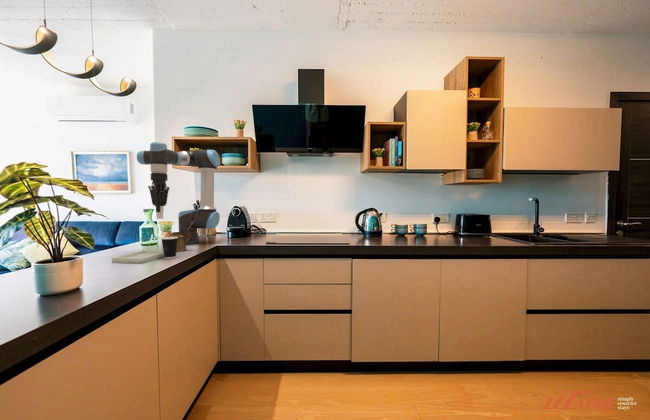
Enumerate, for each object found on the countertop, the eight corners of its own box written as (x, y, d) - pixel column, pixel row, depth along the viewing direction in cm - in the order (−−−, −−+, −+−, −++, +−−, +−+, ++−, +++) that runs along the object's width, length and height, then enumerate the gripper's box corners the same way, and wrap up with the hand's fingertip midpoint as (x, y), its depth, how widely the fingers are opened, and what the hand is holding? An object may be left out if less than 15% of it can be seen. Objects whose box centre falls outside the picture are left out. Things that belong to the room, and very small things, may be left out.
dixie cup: (178, 256, 150) (178, 236, 150) (178, 258, 143) (178, 237, 143) (161, 257, 147) (161, 237, 146) (161, 260, 140) (160, 239, 139)
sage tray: (144, 254, 155) (144, 250, 154) (170, 255, 152) (170, 251, 152) (112, 262, 135) (111, 257, 135) (141, 263, 132) (141, 258, 132)
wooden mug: (194, 251, 164) (193, 221, 164) (167, 253, 159) (167, 221, 158) (195, 249, 172) (194, 220, 172) (170, 250, 167) (169, 220, 167)
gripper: (161, 174, 152) (161, 217, 153) (142, 171, 139) (143, 219, 140) (174, 174, 151) (174, 217, 152) (156, 171, 138) (157, 219, 139)
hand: (159, 218), depth 146 cm, fingers closed
